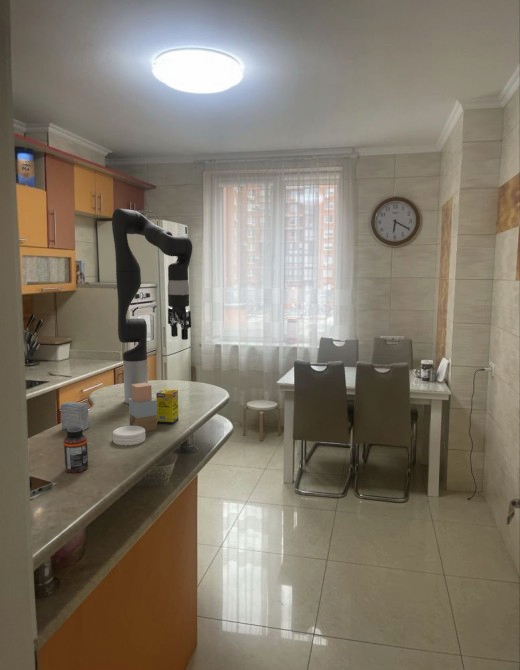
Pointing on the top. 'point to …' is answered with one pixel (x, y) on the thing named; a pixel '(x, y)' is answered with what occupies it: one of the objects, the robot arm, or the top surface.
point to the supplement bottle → (75, 450)
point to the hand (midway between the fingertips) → (179, 338)
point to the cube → (141, 392)
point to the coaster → (129, 435)
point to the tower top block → (143, 408)
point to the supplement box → (167, 406)
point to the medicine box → (74, 415)
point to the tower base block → (144, 422)
